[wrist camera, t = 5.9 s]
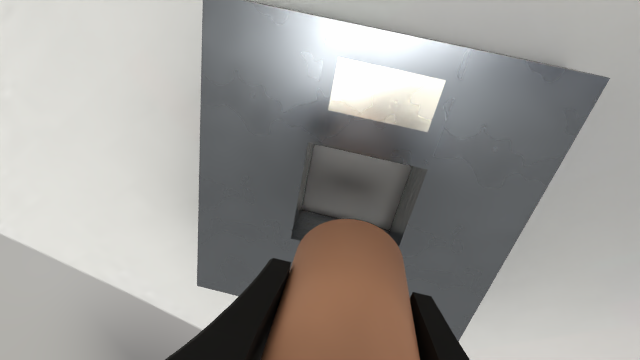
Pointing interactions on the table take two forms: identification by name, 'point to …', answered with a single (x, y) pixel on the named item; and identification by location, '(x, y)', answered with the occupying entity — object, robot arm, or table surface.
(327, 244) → the peg
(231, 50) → the grey square slab
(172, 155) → the table surface
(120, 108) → the table surface
